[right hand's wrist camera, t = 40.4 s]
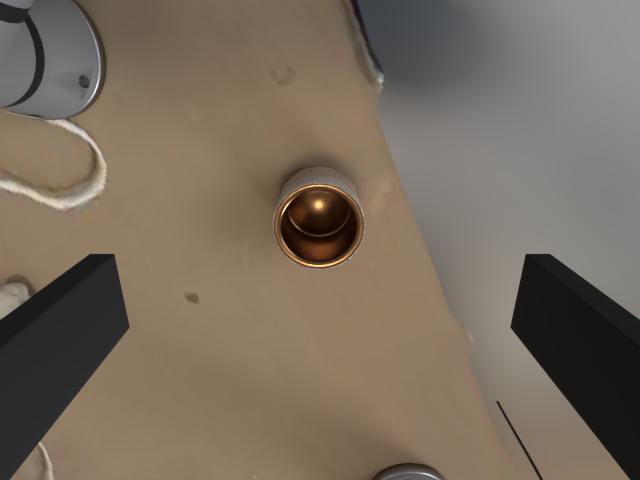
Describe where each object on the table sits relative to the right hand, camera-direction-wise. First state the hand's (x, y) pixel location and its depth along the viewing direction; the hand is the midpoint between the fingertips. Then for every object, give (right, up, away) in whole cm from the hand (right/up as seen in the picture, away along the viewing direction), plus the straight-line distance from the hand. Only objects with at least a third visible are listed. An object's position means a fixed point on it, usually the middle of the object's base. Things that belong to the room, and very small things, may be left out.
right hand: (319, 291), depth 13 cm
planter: (0, +7, +41) cm, 42 cm away
